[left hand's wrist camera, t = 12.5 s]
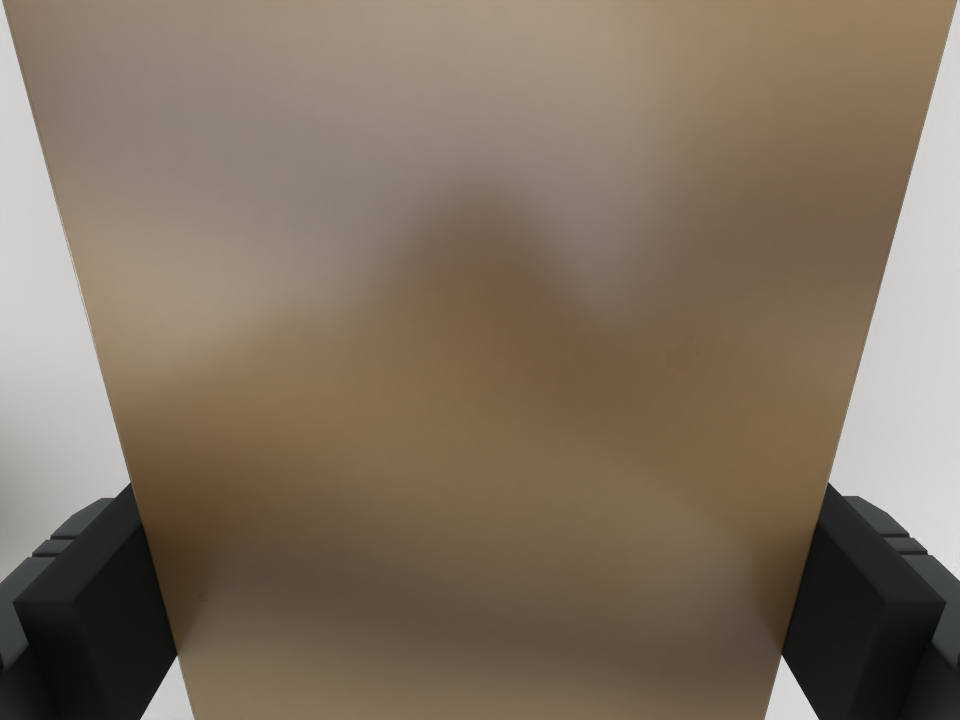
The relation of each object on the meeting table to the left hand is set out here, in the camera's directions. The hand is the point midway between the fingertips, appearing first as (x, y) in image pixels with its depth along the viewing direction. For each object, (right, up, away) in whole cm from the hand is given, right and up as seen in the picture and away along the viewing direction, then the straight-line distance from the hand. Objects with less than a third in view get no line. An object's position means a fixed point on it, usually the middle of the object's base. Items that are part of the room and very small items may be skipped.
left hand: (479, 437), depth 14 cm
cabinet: (0, +7, +1) cm, 7 cm away
